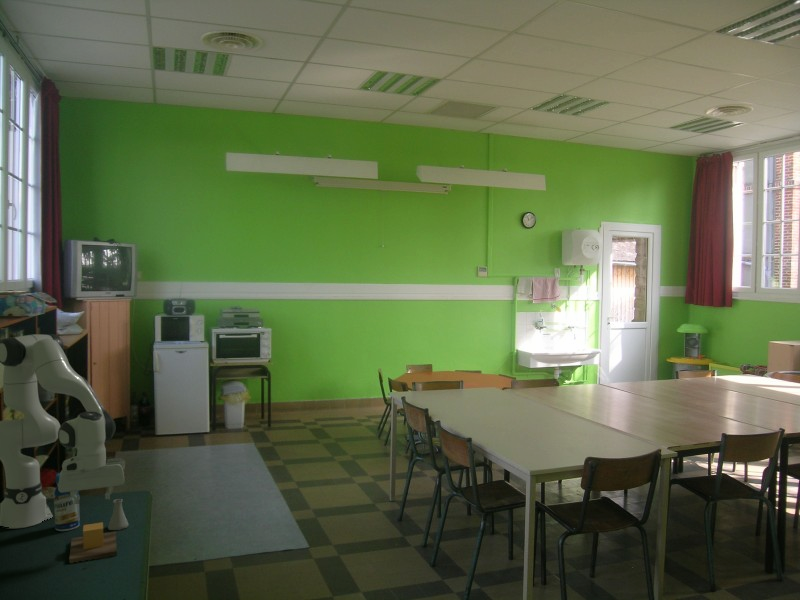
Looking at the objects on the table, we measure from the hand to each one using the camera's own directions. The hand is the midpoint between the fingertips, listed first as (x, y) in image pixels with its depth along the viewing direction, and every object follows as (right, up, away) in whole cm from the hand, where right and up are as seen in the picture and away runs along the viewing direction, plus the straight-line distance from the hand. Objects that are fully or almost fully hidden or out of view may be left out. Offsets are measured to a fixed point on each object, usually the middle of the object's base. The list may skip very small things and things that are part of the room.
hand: (92, 501), depth 219 cm
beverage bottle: (-18, -16, +19) cm, 31 cm away
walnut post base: (0, -16, 0) cm, 16 cm away
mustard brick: (0, -15, +1) cm, 15 cm away
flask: (0, -16, +19) cm, 25 cm away
